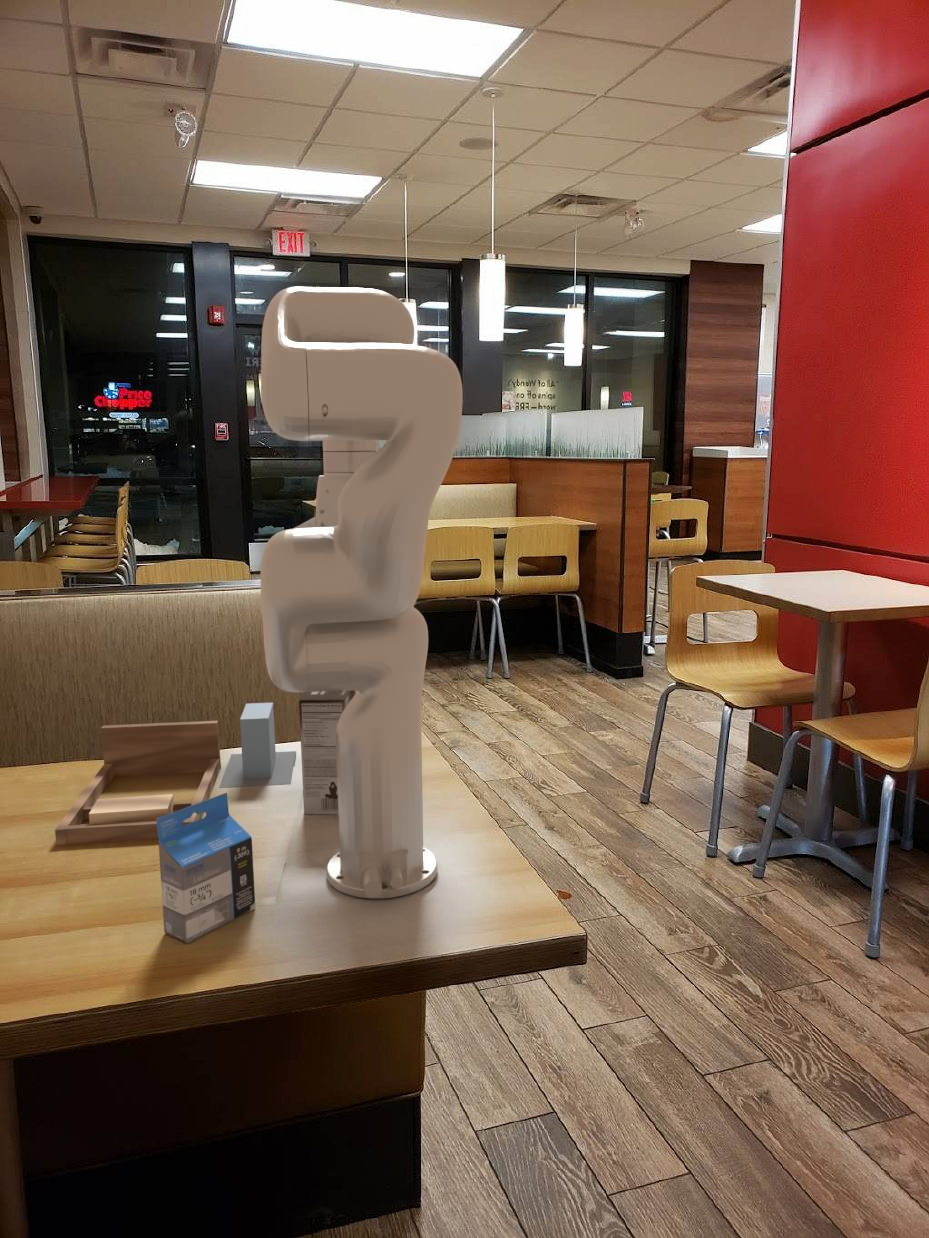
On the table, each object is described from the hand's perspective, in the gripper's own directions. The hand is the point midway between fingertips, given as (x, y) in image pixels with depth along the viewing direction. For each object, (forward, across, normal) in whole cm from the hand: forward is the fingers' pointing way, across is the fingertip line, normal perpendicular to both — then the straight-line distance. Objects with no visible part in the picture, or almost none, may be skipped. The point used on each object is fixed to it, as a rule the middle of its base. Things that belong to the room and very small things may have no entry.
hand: (355, 588), depth 128 cm
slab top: (+26, +29, +14) cm, 41 cm away
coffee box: (+28, +4, +8) cm, 30 cm away
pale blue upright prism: (+28, +15, -5) cm, 32 cm away
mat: (+28, +15, -5) cm, 32 cm away
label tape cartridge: (+29, +16, +38) cm, 50 cm away
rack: (+28, +29, +6) cm, 41 cm away
